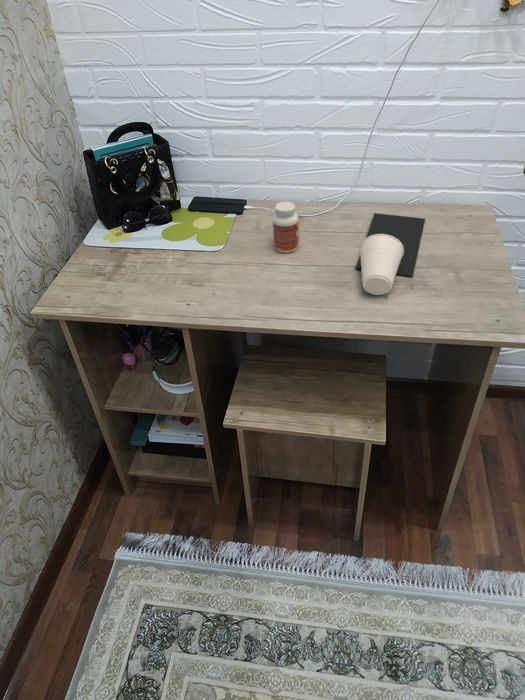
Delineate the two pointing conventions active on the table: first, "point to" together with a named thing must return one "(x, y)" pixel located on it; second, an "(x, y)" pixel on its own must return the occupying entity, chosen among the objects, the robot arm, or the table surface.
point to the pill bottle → (285, 227)
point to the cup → (380, 262)
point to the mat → (399, 238)
